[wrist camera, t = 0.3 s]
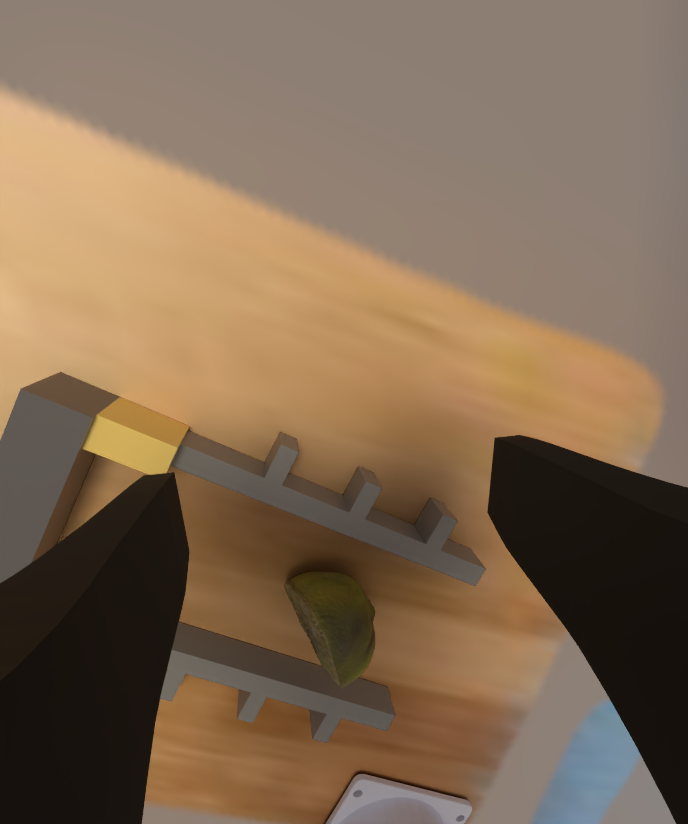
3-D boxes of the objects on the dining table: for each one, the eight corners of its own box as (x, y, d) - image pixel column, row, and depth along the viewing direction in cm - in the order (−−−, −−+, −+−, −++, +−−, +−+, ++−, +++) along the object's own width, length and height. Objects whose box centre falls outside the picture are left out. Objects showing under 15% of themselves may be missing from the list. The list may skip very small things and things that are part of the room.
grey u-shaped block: (364, 723, 26) (377, 782, 23) (-36, 610, 21) (-88, 665, 18) (486, 522, 24) (518, 557, 21) (73, 340, 19) (35, 351, 16)
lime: (332, 644, 24) (348, 731, 20) (254, 601, 23) (251, 684, 18) (386, 579, 24) (415, 652, 19) (309, 532, 23) (320, 598, 18)
